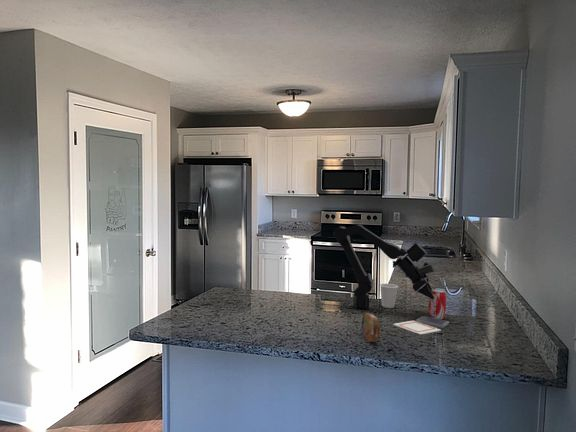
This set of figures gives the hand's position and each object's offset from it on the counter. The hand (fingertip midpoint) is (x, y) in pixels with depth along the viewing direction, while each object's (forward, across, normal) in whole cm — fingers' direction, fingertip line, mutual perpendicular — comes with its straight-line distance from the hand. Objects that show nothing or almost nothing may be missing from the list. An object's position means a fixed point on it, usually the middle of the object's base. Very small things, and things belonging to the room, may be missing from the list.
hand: (433, 296), depth 196 cm
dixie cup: (-8, +10, +21) cm, 24 cm away
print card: (+2, -20, +10) cm, 23 cm away
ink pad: (+6, -10, +6) cm, 14 cm away
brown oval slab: (-8, -43, +21) cm, 48 cm away
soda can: (+8, 0, +6) cm, 10 cm away
